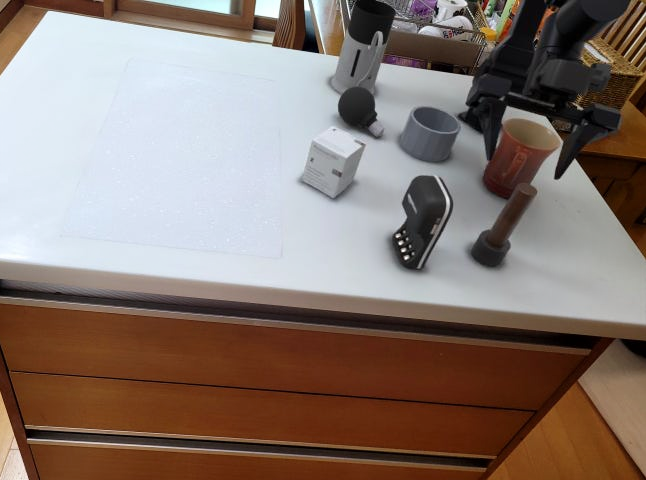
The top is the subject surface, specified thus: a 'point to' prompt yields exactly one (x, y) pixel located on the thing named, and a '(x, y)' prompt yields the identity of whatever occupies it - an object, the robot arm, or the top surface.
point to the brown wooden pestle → (503, 227)
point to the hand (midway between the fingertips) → (522, 169)
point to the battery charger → (422, 219)
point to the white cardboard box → (333, 161)
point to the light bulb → (360, 109)
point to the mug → (518, 155)
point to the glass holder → (363, 45)
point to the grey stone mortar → (430, 133)
